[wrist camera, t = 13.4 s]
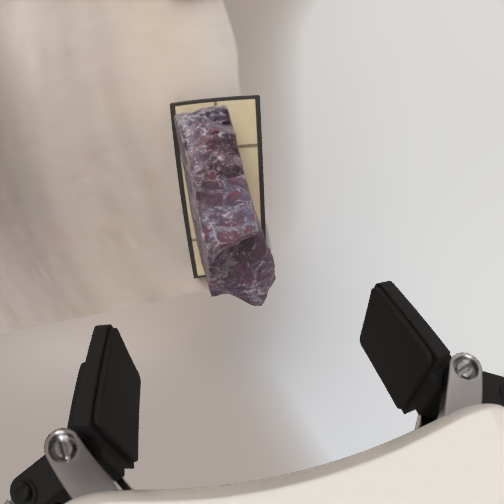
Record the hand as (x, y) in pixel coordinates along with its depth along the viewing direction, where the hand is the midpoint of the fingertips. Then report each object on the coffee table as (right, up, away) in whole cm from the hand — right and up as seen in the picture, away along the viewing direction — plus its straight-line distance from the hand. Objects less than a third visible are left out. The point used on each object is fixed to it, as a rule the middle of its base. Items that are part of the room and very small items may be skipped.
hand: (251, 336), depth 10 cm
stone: (-2, +8, +15) cm, 17 cm away
